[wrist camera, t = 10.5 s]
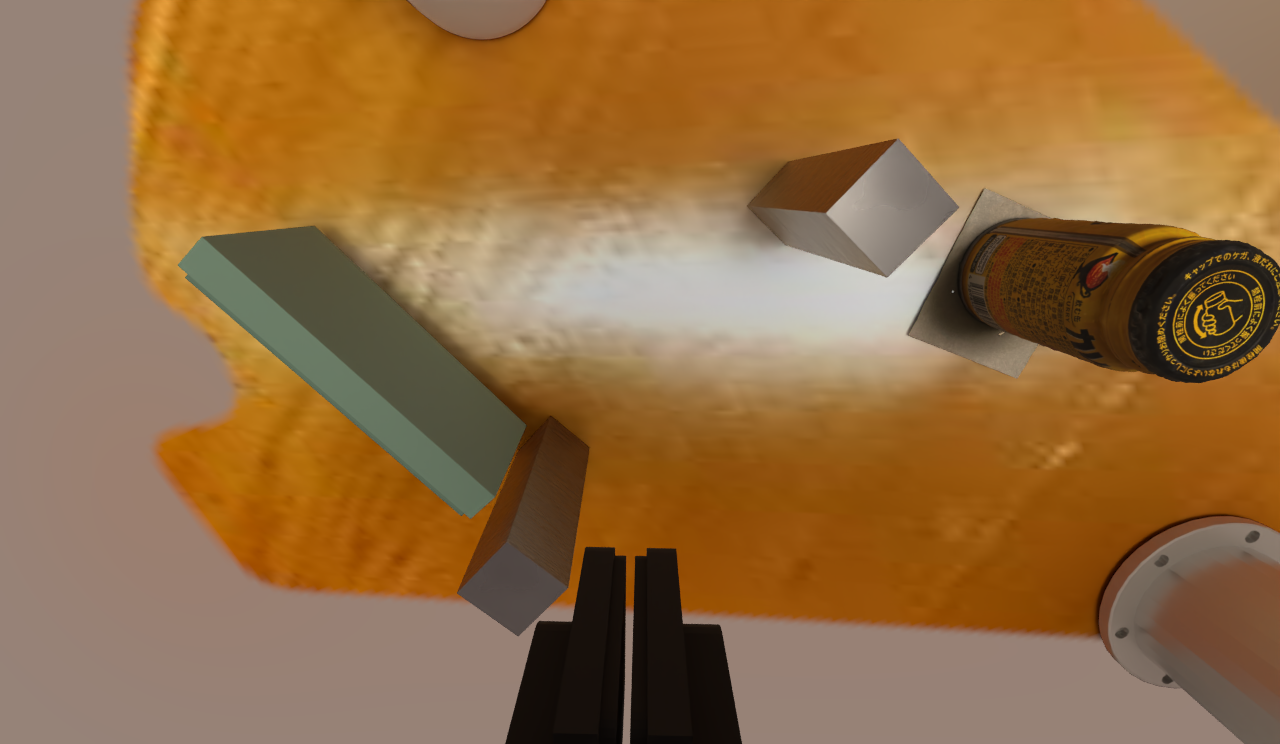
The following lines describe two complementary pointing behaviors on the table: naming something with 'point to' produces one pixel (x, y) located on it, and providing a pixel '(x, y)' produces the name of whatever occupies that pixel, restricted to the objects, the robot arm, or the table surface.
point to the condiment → (1100, 295)
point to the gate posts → (557, 460)
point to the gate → (362, 356)
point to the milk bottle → (479, 15)
